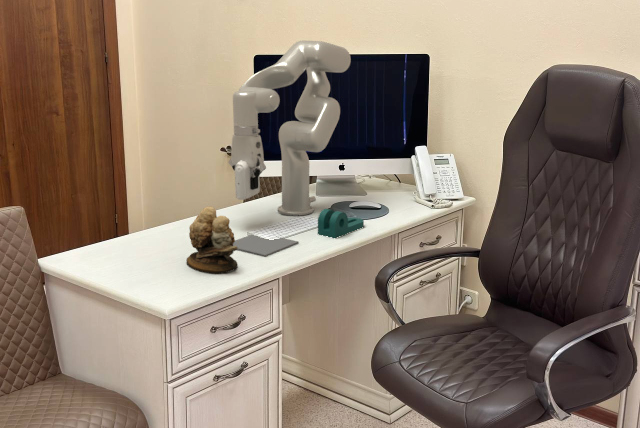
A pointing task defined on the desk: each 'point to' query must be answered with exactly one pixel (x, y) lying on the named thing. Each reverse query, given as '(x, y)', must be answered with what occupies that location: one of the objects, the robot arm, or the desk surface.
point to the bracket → (337, 223)
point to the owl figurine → (212, 243)
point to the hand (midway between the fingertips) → (247, 186)
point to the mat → (263, 245)
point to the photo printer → (244, 181)
